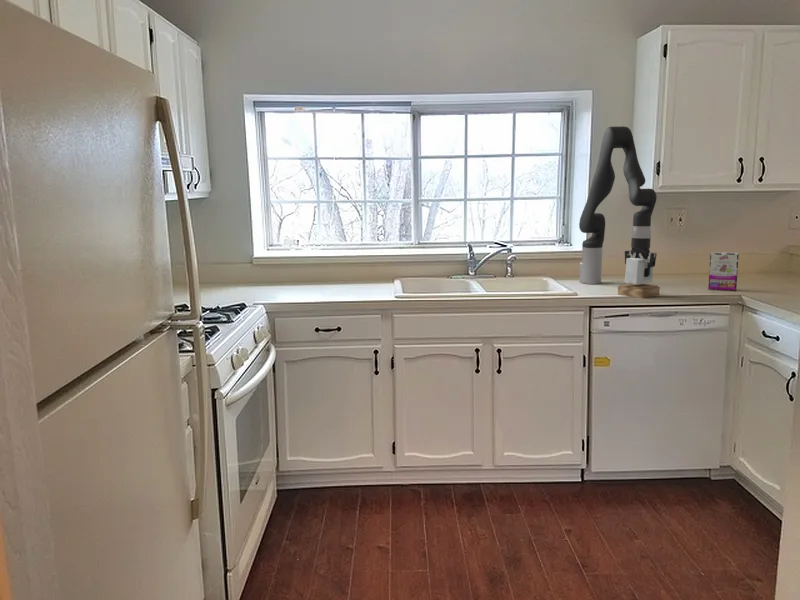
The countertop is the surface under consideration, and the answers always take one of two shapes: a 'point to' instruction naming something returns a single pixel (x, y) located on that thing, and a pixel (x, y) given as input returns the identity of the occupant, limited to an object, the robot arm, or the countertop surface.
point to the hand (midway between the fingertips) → (639, 275)
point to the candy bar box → (723, 271)
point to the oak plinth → (638, 290)
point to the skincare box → (637, 271)
